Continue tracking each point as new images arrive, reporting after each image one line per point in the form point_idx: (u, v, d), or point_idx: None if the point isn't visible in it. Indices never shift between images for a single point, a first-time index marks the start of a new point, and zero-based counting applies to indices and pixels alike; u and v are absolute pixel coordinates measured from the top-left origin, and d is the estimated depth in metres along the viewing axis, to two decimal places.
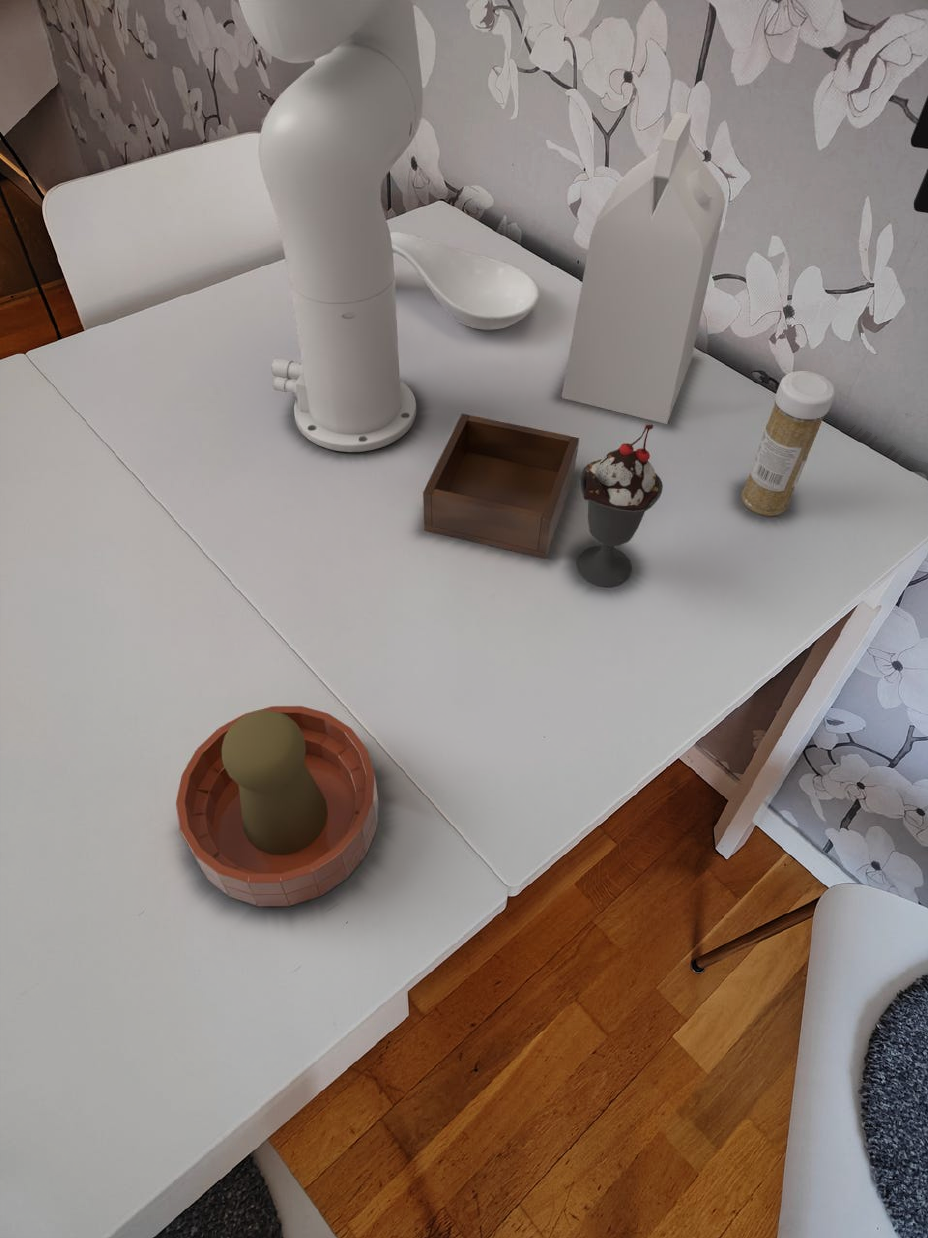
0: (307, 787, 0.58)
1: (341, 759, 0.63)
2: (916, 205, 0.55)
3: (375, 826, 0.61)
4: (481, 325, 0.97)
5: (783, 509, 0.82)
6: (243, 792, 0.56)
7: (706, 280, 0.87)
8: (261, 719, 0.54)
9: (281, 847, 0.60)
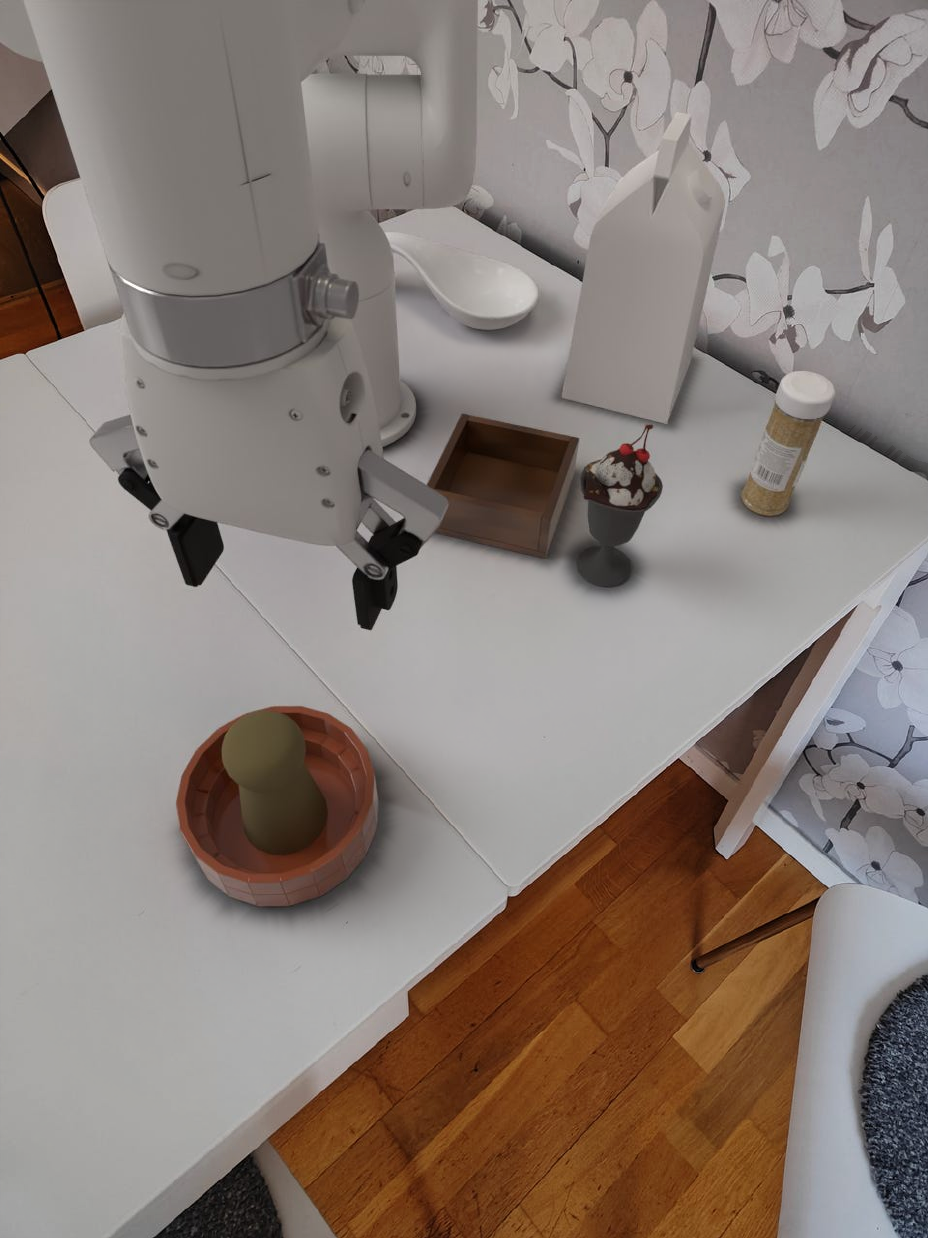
0: (307, 787, 0.58)
1: (341, 759, 0.63)
2: None
3: (375, 826, 0.61)
4: (481, 325, 0.97)
5: (783, 509, 0.82)
6: (243, 792, 0.56)
7: (706, 280, 0.87)
8: (261, 719, 0.54)
9: (281, 847, 0.60)
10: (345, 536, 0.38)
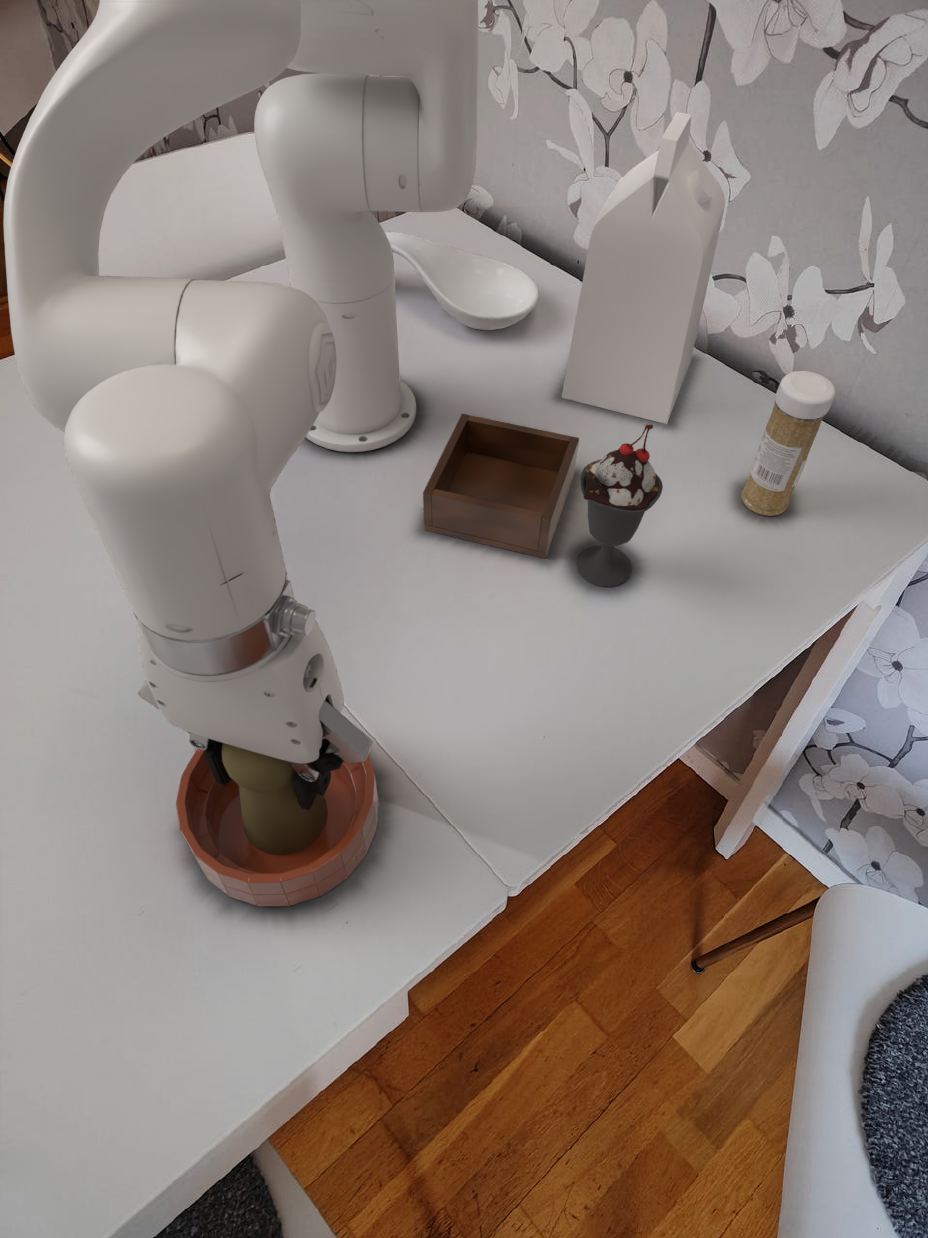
0: None
1: None
2: None
3: (375, 826, 0.61)
4: (481, 325, 0.97)
5: (783, 509, 0.82)
6: (243, 792, 0.56)
7: (706, 280, 0.87)
8: None
9: (281, 847, 0.60)
10: (310, 759, 0.49)
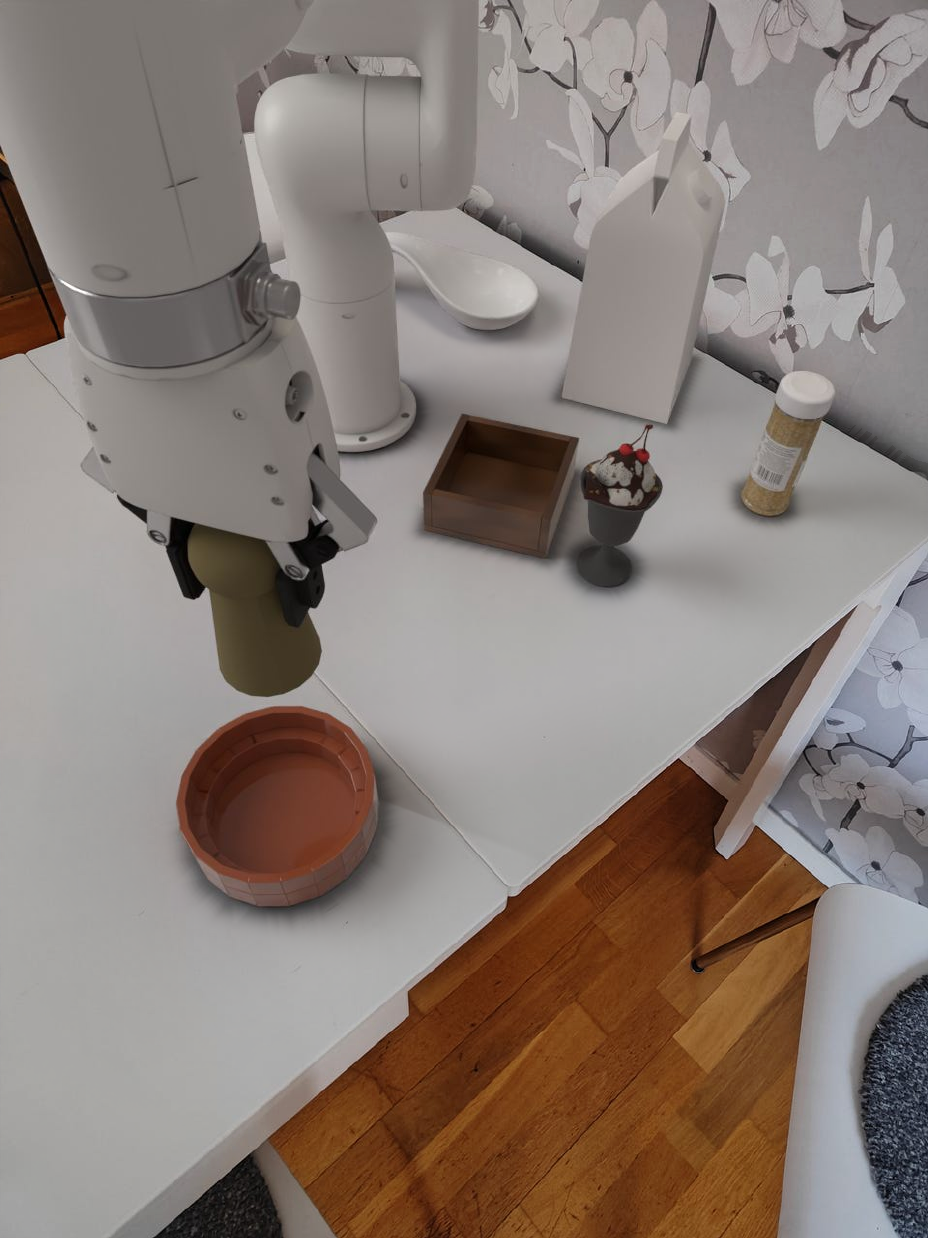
0: None
1: (341, 759, 0.63)
2: None
3: (375, 826, 0.61)
4: (480, 325, 0.97)
5: (783, 509, 0.82)
6: (216, 606, 0.45)
7: (706, 280, 0.87)
8: None
9: (265, 685, 0.49)
10: (297, 533, 0.39)
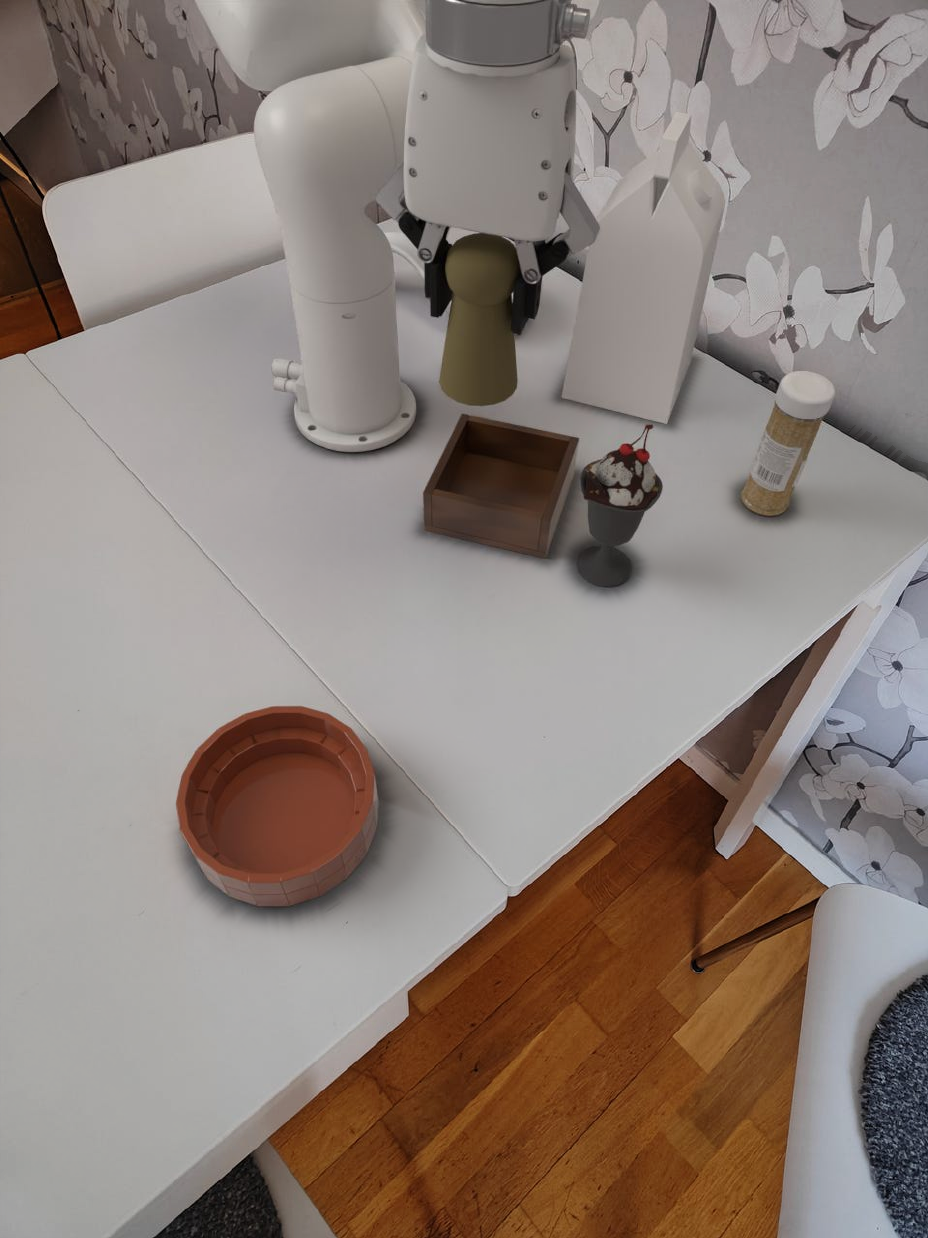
0: None
1: (341, 759, 0.63)
2: None
3: (375, 826, 0.61)
4: None
5: (783, 509, 0.82)
6: (458, 316, 0.60)
7: (706, 280, 0.87)
8: (483, 235, 0.59)
9: (482, 393, 0.64)
10: (548, 229, 0.54)
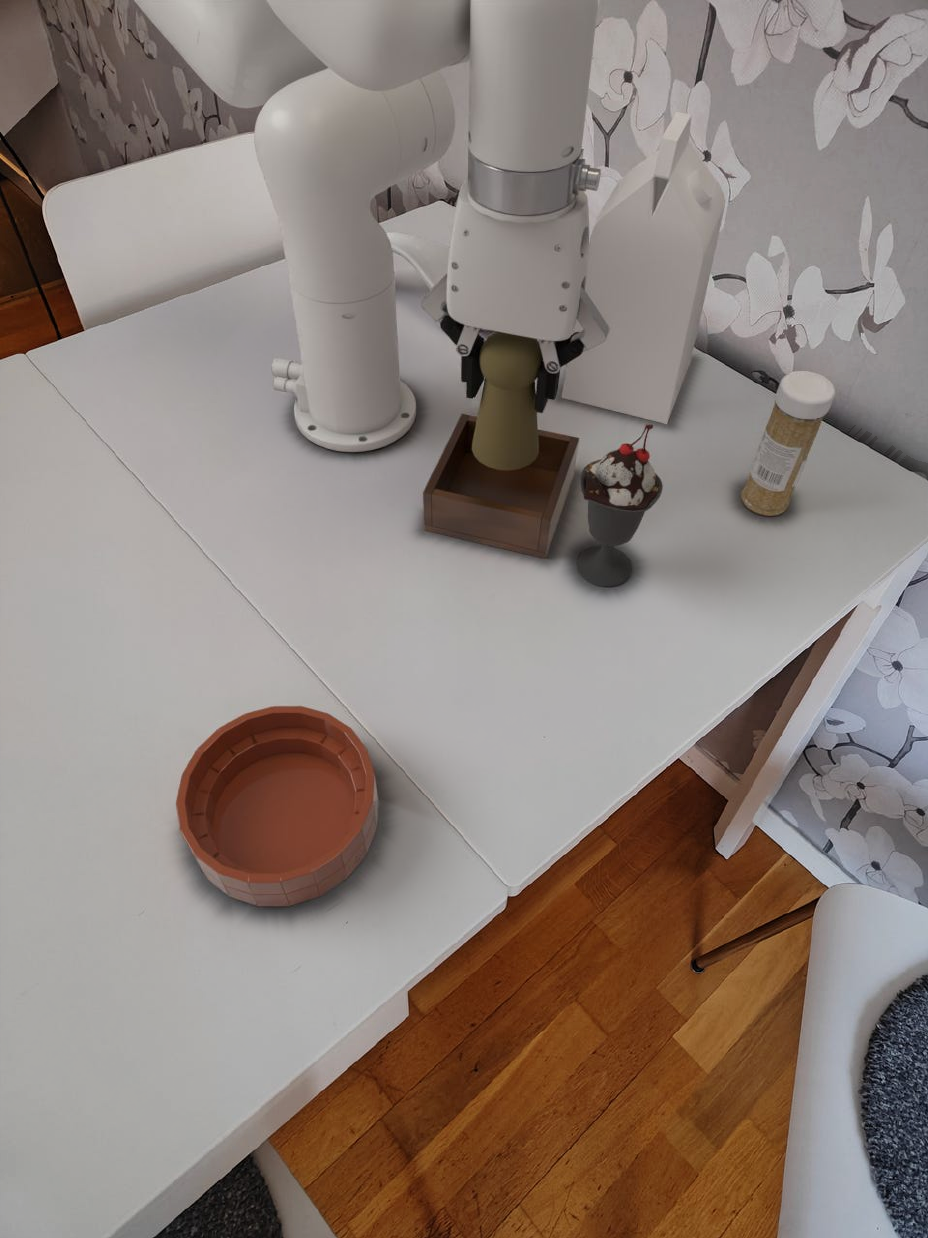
0: None
1: (341, 759, 0.63)
2: None
3: (375, 826, 0.61)
4: None
5: (783, 509, 0.82)
6: (490, 398, 0.72)
7: (706, 280, 0.87)
8: None
9: (510, 460, 0.75)
10: (567, 332, 0.65)
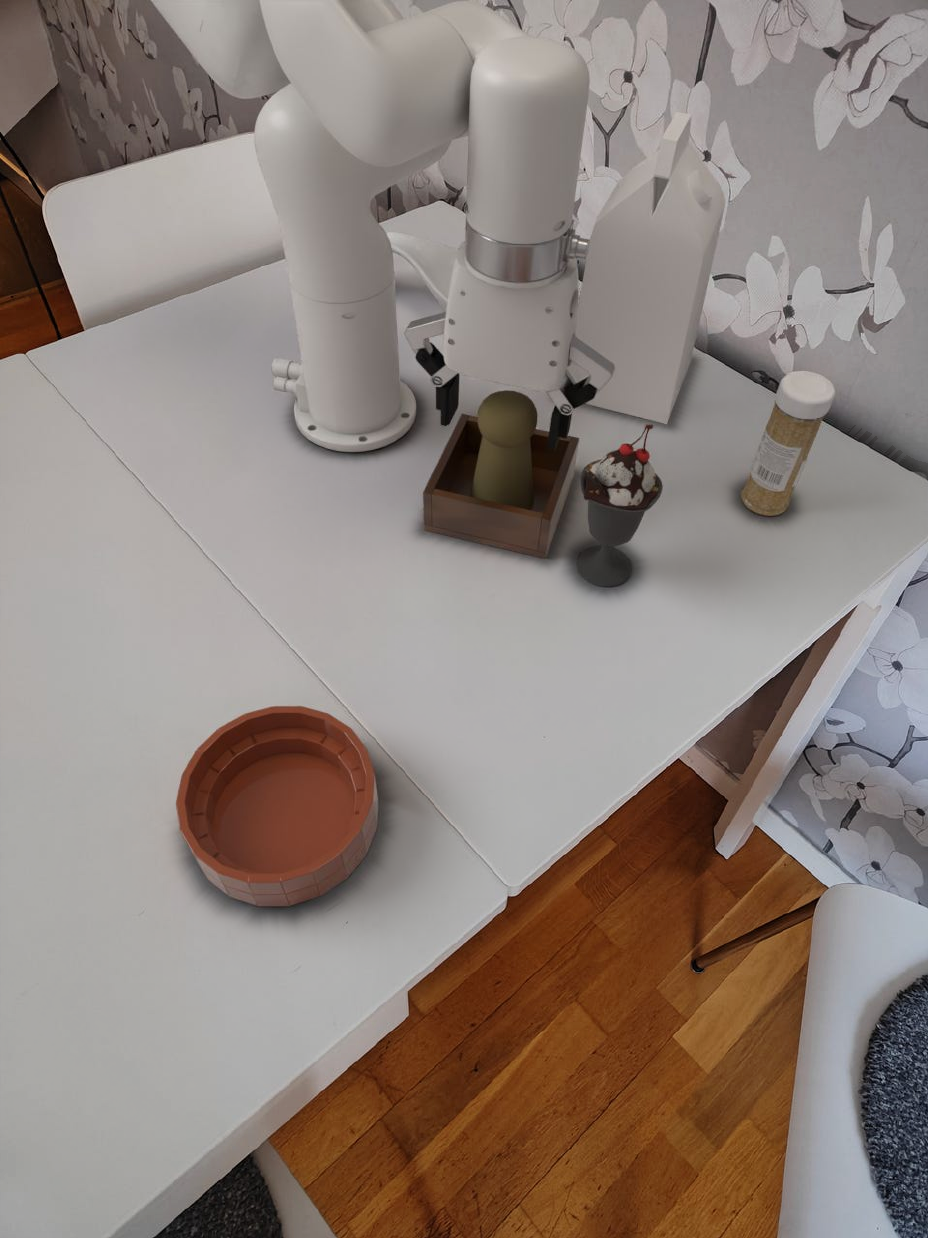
0: (530, 458, 0.78)
1: (341, 759, 0.63)
2: None
3: (375, 826, 0.61)
4: None
5: (783, 509, 0.82)
6: (488, 454, 0.76)
7: (706, 280, 0.87)
8: (507, 393, 0.74)
9: None
10: (556, 384, 0.69)
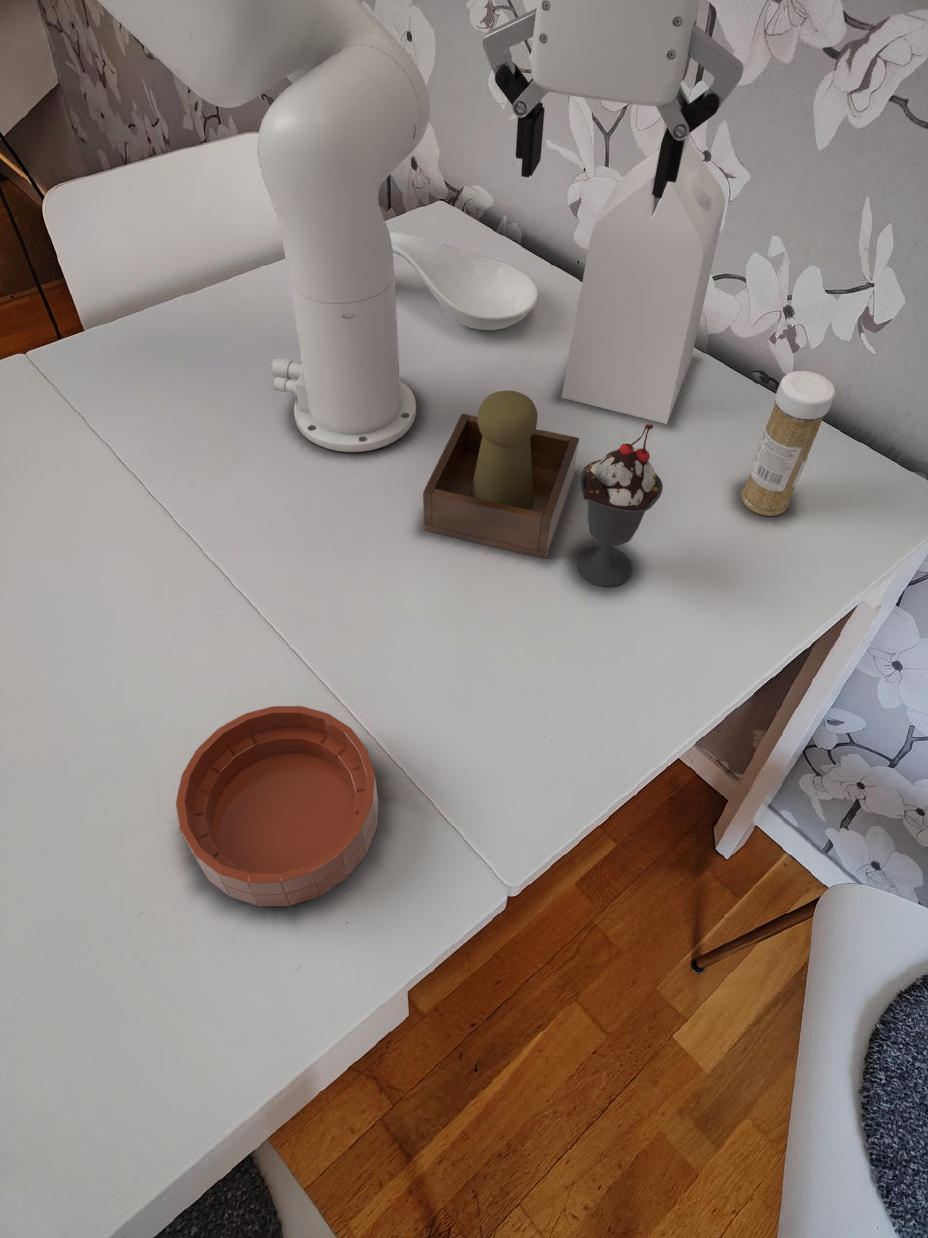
0: (530, 458, 0.78)
1: (341, 759, 0.63)
2: None
3: (375, 826, 0.61)
4: (480, 326, 0.97)
5: (783, 509, 0.82)
6: (488, 454, 0.76)
7: (706, 280, 0.87)
8: (507, 393, 0.74)
9: None
10: (673, 90, 0.56)
